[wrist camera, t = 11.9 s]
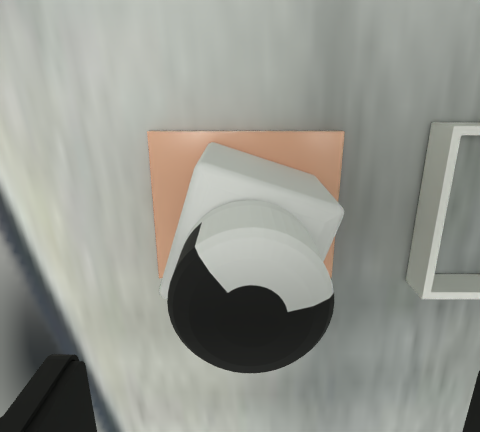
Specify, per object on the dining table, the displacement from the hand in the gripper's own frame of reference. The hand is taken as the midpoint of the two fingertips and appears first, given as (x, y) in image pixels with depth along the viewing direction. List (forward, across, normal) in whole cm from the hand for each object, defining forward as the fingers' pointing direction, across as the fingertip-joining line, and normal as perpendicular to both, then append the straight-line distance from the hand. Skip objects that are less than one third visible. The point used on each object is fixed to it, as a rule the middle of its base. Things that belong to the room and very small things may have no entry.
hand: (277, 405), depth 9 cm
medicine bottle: (+16, +1, 0) cm, 16 cm away
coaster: (+16, +1, 0) cm, 17 cm away
